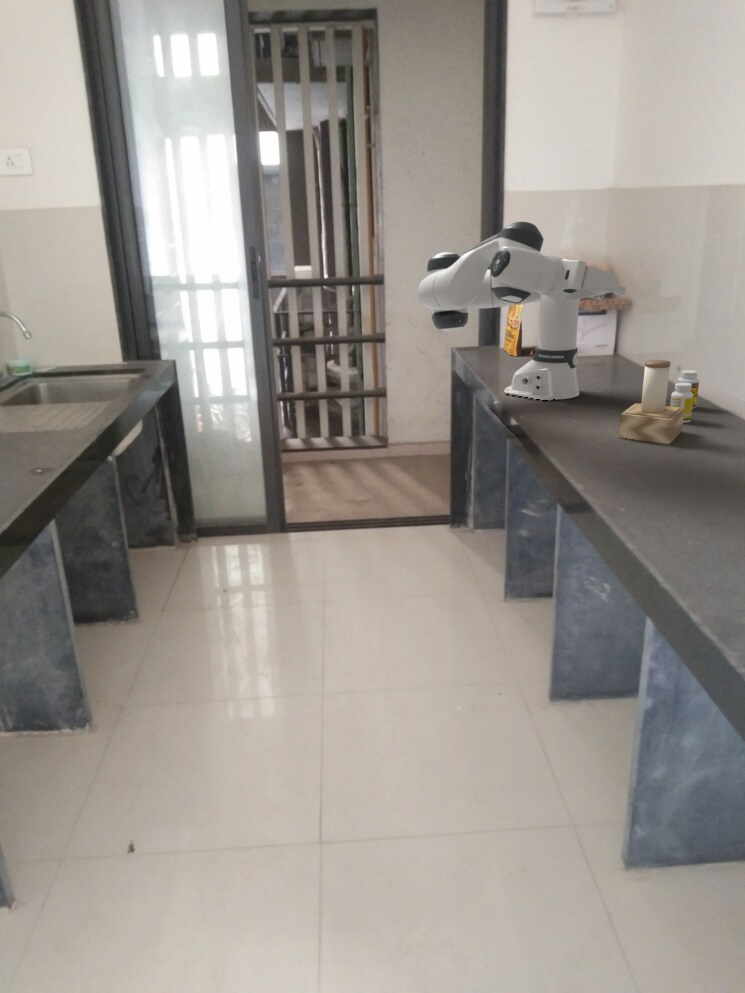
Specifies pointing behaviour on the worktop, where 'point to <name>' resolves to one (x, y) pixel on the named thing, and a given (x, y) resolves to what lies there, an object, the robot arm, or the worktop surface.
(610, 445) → the worktop surface
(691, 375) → the supplement bottle
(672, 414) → the oak block
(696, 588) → the worktop surface
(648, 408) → the cream tin
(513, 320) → the pancake mix bag
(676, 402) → the supplement bottle
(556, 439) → the worktop surface
